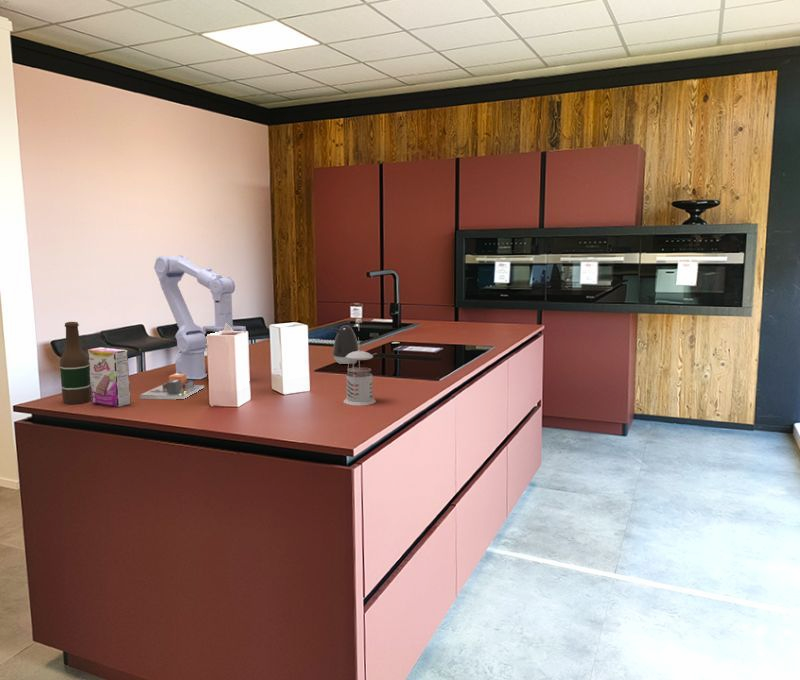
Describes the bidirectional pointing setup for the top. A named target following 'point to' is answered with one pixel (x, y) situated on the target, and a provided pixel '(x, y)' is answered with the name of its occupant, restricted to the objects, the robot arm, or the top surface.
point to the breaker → (173, 386)
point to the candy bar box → (109, 376)
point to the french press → (359, 379)
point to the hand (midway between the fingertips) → (225, 353)
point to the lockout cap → (179, 378)
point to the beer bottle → (74, 369)
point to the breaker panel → (162, 393)
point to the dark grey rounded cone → (344, 344)
